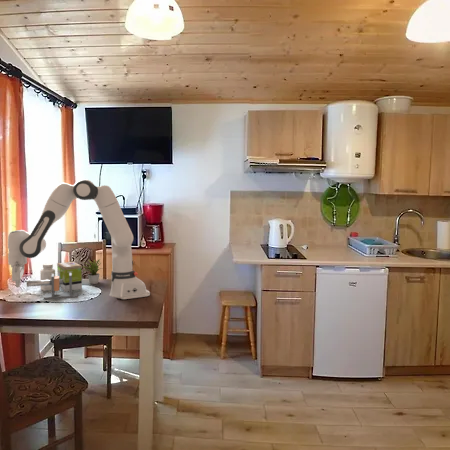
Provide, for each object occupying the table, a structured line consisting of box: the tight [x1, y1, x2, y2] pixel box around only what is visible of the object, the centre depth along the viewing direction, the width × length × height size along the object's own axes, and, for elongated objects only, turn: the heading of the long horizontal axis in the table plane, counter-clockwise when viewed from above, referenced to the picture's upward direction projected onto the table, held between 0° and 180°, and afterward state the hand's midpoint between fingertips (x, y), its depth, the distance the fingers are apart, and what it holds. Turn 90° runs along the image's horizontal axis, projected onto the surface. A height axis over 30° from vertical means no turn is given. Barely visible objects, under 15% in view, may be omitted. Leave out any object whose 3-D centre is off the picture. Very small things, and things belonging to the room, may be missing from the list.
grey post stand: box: [43, 273, 78, 300], centre depth 222 cm, size 17×10×12 cm, turn 111°
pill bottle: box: [39, 263, 56, 291], centre depth 236 cm, size 8×8×15 cm
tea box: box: [56, 261, 83, 292], centre depth 240 cm, size 15×10×15 cm
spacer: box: [54, 275, 61, 292], centre depth 221 cm, size 3×7×7 cm, turn 21°
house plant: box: [81, 258, 104, 285], centre depth 252 cm, size 14×14×16 cm
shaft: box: [26, 279, 63, 288], centre depth 219 cm, size 18×3×3 cm, turn 111°
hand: (18, 286), depth 214 cm, fingers open, 3 cm apart
